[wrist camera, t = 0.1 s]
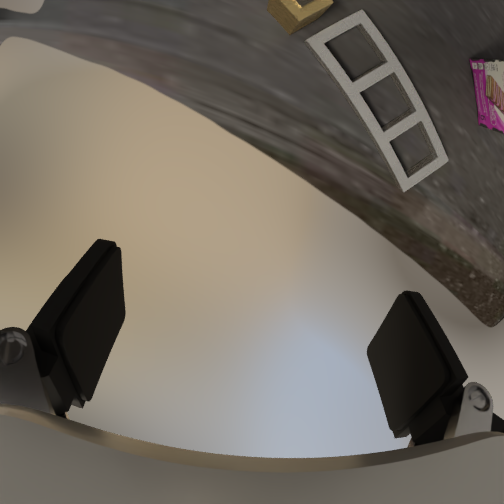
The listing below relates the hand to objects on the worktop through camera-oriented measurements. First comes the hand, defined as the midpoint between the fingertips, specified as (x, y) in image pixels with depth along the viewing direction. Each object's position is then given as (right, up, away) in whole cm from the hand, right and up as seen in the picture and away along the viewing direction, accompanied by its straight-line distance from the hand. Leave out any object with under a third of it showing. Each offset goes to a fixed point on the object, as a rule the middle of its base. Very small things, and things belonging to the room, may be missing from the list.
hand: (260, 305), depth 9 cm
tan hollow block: (+5, +31, +18) cm, 36 cm away
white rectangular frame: (+17, +22, +23) cm, 36 cm away
